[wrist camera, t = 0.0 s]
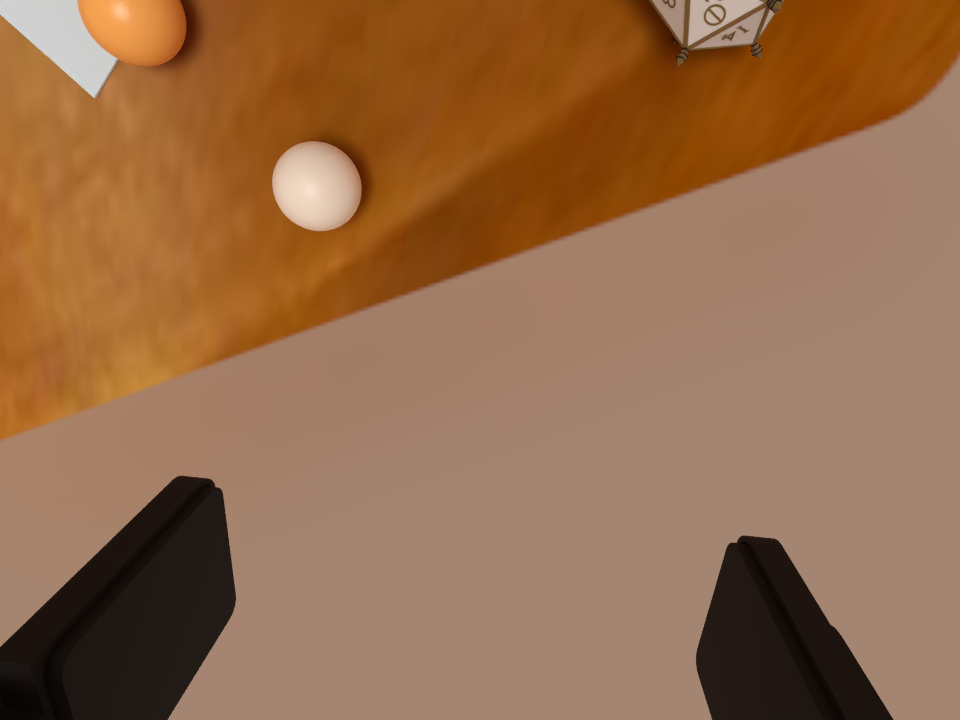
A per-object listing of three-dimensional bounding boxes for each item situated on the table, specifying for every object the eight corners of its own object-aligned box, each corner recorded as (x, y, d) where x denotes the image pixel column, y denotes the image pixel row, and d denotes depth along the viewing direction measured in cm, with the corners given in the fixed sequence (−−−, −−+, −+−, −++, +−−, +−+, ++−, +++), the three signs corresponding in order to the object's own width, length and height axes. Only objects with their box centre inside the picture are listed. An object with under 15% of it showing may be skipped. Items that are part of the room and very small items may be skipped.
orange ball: (147, -52, 34) (81, -83, 29) (220, 20, 35) (168, 1, 30) (104, 24, 36) (34, 6, 31) (175, 90, 37) (119, 83, 32)
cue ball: (325, 122, 37) (292, 120, 32) (387, 182, 38) (365, 190, 33) (277, 184, 39) (239, 191, 34) (338, 240, 40) (310, 256, 35)
